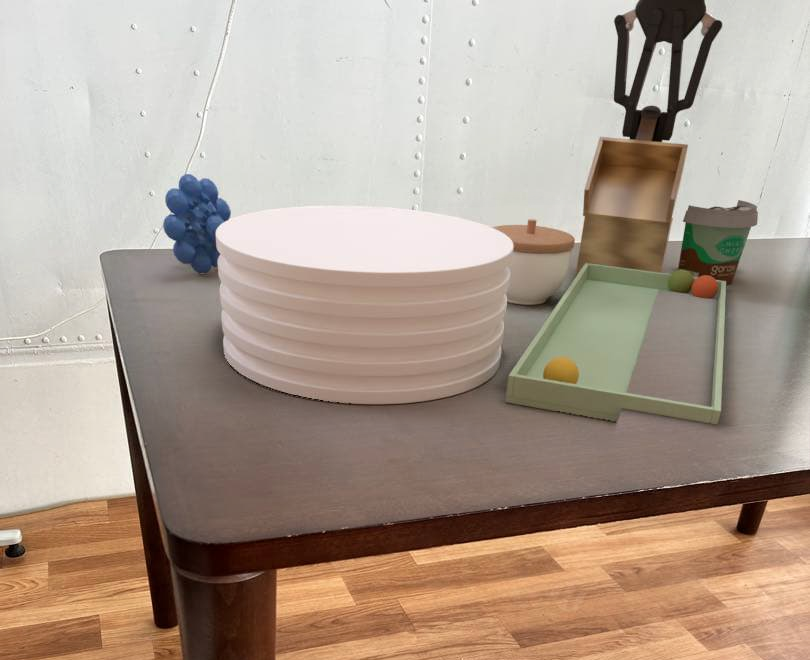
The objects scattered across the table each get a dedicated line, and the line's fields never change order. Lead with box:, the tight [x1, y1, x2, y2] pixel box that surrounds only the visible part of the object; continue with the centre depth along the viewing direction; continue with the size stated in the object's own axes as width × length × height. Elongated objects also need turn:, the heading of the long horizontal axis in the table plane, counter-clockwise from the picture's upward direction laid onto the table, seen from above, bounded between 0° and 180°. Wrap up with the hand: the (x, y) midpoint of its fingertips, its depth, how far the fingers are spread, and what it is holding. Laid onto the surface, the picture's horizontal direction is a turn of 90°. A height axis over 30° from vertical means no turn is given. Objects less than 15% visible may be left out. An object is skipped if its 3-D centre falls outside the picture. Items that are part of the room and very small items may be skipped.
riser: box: [574, 216, 674, 277], centre depth 113 cm, size 11×6×8 cm, turn 71°
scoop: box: [582, 105, 689, 226], centre depth 107 cm, size 11×15×4 cm
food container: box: [677, 199, 759, 286], centre depth 112 cm, size 12×6×10 cm, turn 126°
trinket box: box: [492, 218, 576, 306], centre depth 101 cm, size 11×11×9 cm
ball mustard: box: [543, 357, 579, 384], centre depth 74 cm, size 3×3×3 cm
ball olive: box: [668, 269, 694, 295], centre depth 105 cm, size 3×3×3 cm
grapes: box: [162, 173, 232, 274], centre depth 102 cm, size 12×7×12 cm, turn 151°
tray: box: [504, 263, 727, 425], centre depth 90 cm, size 18×46×3 cm, turn 161°
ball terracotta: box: [691, 275, 718, 299], centre depth 103 cm, size 3×3×3 cm
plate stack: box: [216, 205, 514, 405], centre depth 81 cm, size 28×28×12 cm
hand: (641, 165), depth 111 cm, fingers closed on scoop, 3 cm apart
